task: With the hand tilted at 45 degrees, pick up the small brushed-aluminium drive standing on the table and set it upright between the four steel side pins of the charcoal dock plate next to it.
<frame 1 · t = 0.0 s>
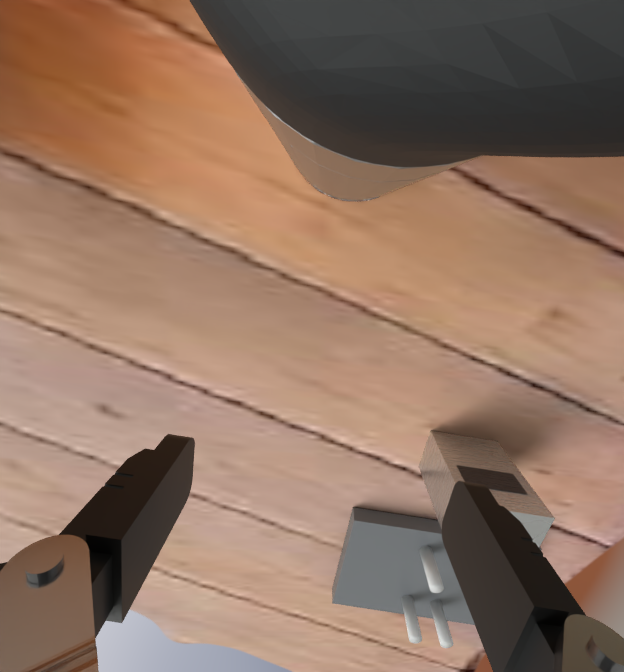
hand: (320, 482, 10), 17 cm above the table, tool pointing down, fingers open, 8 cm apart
drive: (456, 453, 30), on the table
drive dock: (426, 563, 35), on the table
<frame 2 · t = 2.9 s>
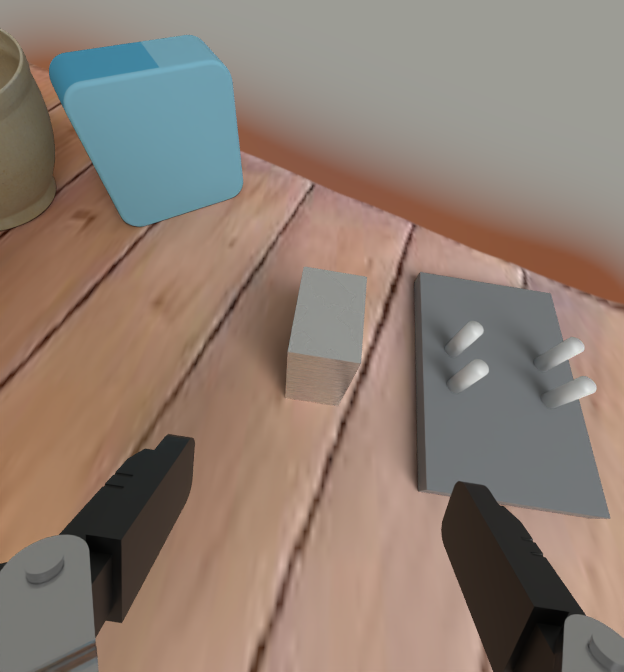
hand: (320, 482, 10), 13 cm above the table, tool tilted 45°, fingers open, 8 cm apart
drive: (316, 365, 26), on the table
drive dock: (488, 381, 27), on the table
planter bowl: (4, 200, 32), on the table
data package: (182, 200, 34), on the table
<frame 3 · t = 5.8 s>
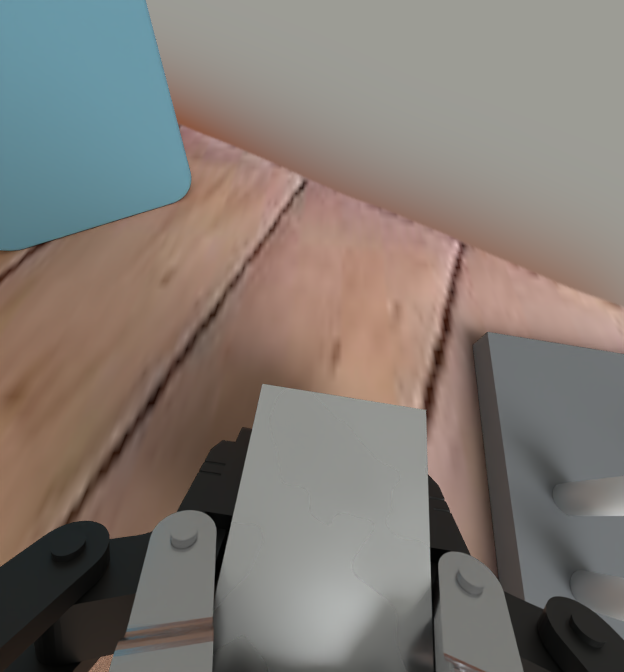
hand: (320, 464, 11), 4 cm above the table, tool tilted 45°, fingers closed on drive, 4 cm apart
drive: (304, 528, 14), on the table, touching gripper
data package: (95, 206, 21), on the table
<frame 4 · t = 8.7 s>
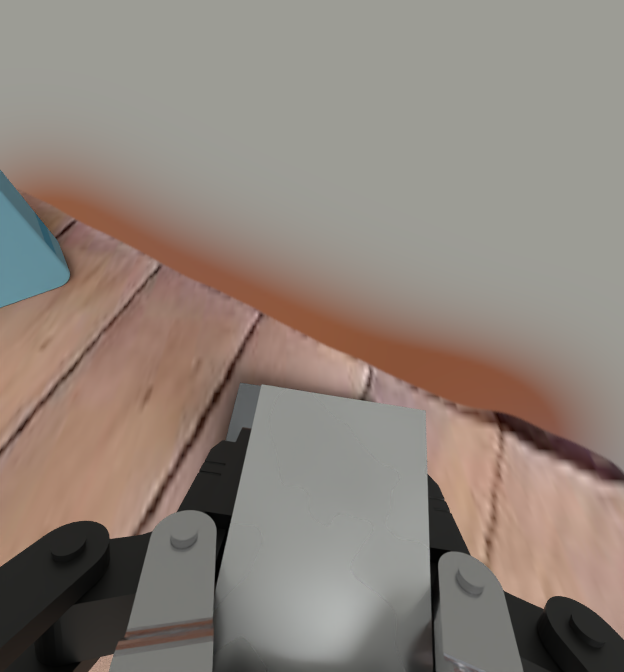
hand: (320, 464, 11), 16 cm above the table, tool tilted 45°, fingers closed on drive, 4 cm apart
drive: (304, 528, 14), point 12 cm above the table, touching gripper
drive dock: (294, 516, 24), on the table
data package: (4, 290, 31), on the table
when the fingers open (7 cm above the table, at t = 11.3 s): drive drops 1 cm, resting on drive dock.
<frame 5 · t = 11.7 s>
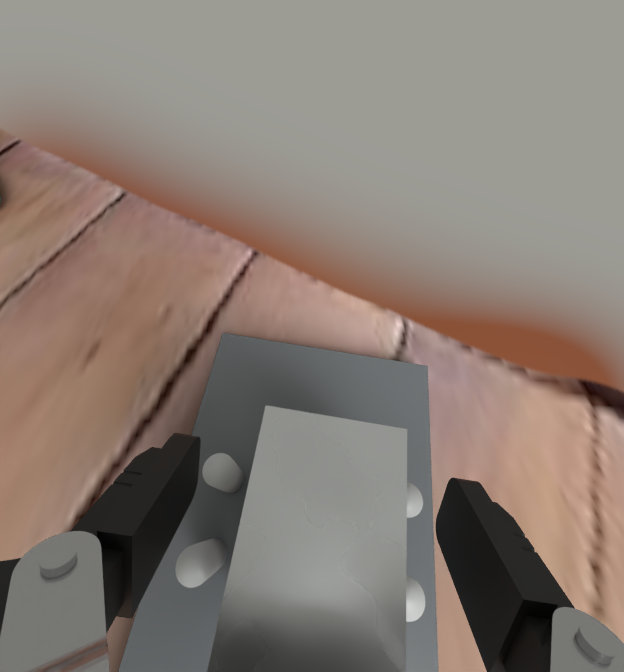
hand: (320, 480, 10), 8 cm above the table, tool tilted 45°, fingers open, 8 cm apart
drive: (302, 530, 15), point 1 cm above the table, touching drive dock
drive dock: (300, 526, 16), on the table
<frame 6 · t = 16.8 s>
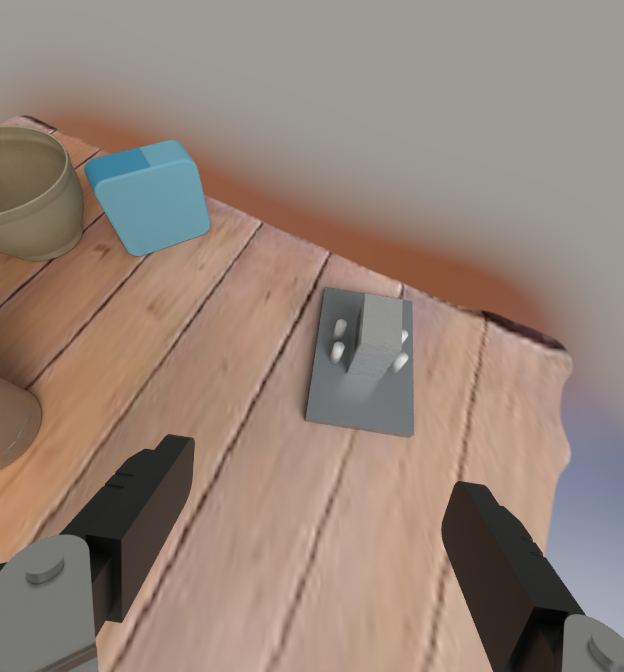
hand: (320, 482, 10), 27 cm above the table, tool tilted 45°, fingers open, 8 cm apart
drive: (365, 354, 41), point 1 cm above the table, touching drive dock
drive dock: (362, 358, 42), on the table
planter bowl: (48, 238, 47), on the table
data package: (169, 236, 49), on the table
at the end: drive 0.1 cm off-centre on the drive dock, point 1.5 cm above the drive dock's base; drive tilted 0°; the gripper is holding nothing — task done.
